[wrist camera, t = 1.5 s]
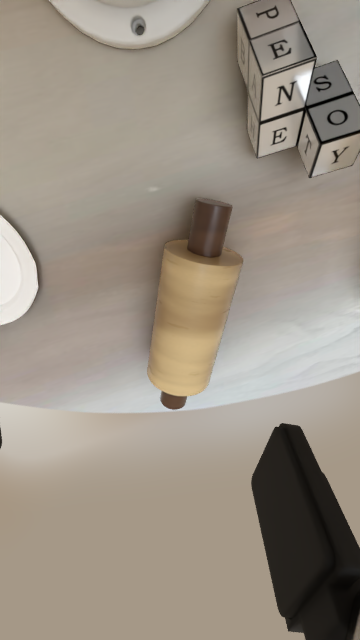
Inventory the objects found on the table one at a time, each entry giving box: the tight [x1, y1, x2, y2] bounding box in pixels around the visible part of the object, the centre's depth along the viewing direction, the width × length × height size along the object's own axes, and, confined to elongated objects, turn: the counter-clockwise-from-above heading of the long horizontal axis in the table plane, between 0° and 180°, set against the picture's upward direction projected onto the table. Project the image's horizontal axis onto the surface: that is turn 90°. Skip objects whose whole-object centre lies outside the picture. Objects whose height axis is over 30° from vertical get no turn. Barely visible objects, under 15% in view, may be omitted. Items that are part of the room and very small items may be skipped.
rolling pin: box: [147, 198, 243, 409], centre depth 25 cm, size 19×6×6 cm, turn 171°
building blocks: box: [237, 0, 360, 178], centre depth 17 cm, size 5×5×8 cm
